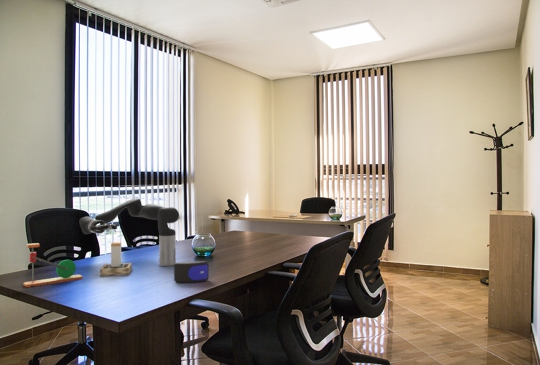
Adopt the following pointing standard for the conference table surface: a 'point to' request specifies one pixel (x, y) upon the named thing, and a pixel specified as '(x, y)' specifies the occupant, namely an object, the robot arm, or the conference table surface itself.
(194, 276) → the portable speaker
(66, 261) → the crank mechanism
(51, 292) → the conference table surface
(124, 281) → the conference table surface
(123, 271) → the box
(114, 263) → the white orange-topped block
